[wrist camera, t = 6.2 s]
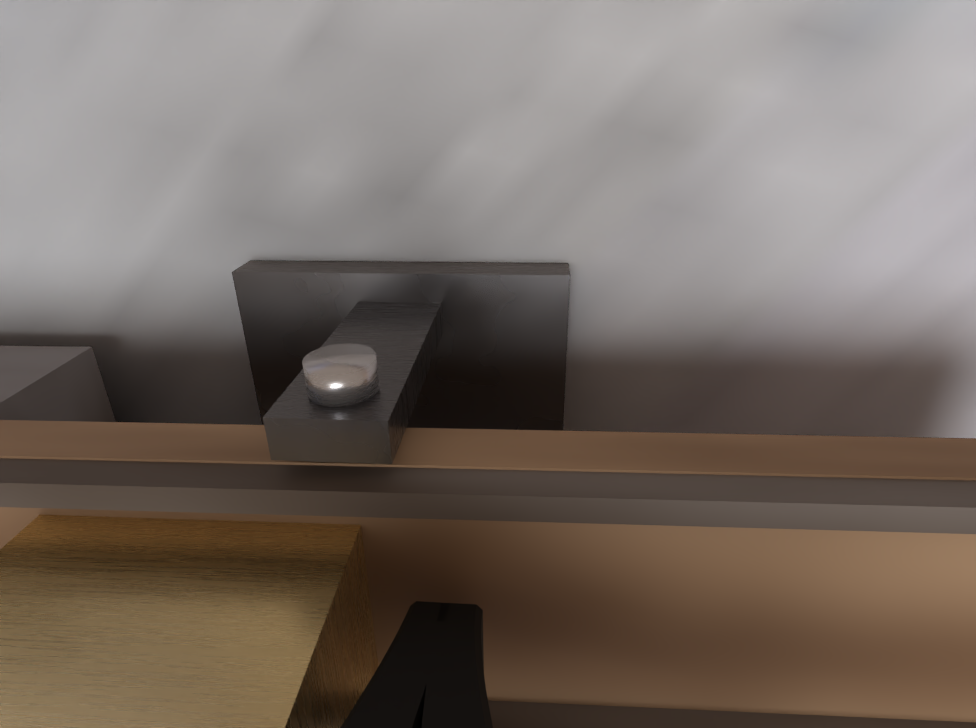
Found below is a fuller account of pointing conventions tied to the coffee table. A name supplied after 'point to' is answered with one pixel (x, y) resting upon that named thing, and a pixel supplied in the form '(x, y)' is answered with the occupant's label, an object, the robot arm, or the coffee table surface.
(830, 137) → the coffee table surface
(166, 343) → the coffee table surface
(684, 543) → the beam
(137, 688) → the rider
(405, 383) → the grey metal bracket
